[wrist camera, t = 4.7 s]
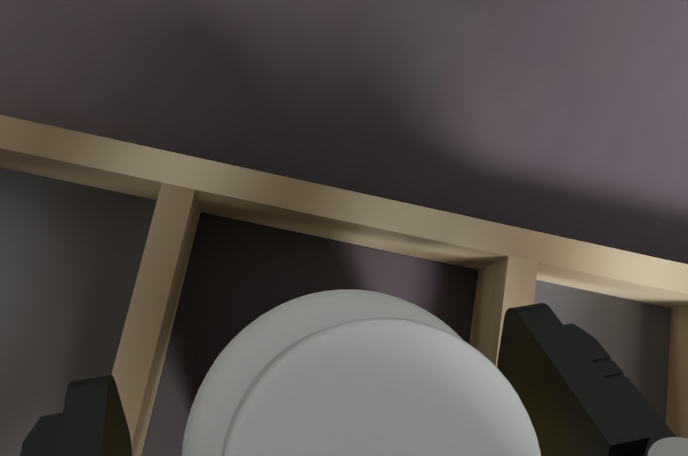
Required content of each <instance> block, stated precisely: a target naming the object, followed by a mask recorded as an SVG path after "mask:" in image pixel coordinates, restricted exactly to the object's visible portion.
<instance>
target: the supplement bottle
mask: <svg viewBox="0 0 688 456" xmlns="http://www.w3.org/2000/svg"><path fill="white" fill-rule="evenodd" d="M182 456H541V452H540V448H539V444H538V440H537V436H536V433H535V430H534V428H533V425H532V423H531V420H530V418H529V415H528V413H527V411H526V409H525V407H524V405H523V404H522V402H521V400H520V398H519V396H518V394H517V393H516V391H515V390H514V388H513V387H512V385H511V384H510V382H509V381H508V380H507V379H506V378H505V376H504V375H503V374H502V373H501V372H500V371H499V369H498V368H497V367H496V366H495V365H494V364H493V363H492V362H491V361H490V360H489V359H488V358H486V357H485V356H484V355H483V354H482V353H481V352H480V351H478V350H477V349H476V348H474V347H473V346H471V345H470V344H468V343H467V342H465V341H464V340H463V339H462V338H461V337H460V336H459V335H458V334H457V333H456V332H455V331H454V330H453V329H452V328H450V327H449V326H448V325H446V324H445V323H444V322H443V321H441V320H440V319H439V318H437V317H436V316H434V315H432V314H431V313H429V312H428V311H426V310H424V309H422V308H420V307H419V306H417V305H415V304H412V303H410V302H407V301H405V300H403V299H400V298H397V297H393V296H390V295H386V294H383V293H379V292H374V291H366V290H355V289H346V290H329V291H322V292H317V293H312V294H308V295H304V296H301V297H298V298H295V299H293V300H290V301H288V302H285V303H283V304H280V305H279V306H277V307H275V308H273V309H271V310H270V311H268V312H266V313H264V314H263V315H261V316H259V317H258V318H257V319H256V320H254V321H253V322H251V323H250V324H249V325H248V326H246V327H245V328H244V329H243V330H242V331H240V332H239V333H238V334H237V335H236V336H235V337H234V338H233V339H232V340H231V341H230V342H229V344H228V345H227V346H226V347H225V348H224V349H223V351H222V352H221V353H220V354H219V356H218V357H217V358H216V360H215V361H214V363H213V364H212V366H211V368H210V369H209V371H208V373H207V375H206V376H205V378H204V380H203V382H202V384H201V386H200V387H199V389H198V392H197V394H196V397H195V399H194V402H193V404H192V407H191V410H190V414H189V417H188V420H187V424H186V429H185V433H184V438H183V446H182Z"/></svg>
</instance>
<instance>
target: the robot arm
mask: <svg viewBox="0 0 688 456" xmlns="http://www.w3.org/2000/svg"><path fill="white" fill-rule="evenodd" d="M497 368H498V369H499V371H500V372H501V373H502V374H503V375H504V376H505V378H506V379H507V380H508V381H509V382H510V384H511V385H512V387H513V388H514V390H515V391H516V393H517V394H518V396H519V398H520V400H521V402H522V404H523V405H524V407H525V409H526V411H527V413H528V415H529V418H530V420H531V423H532V425H533V428H534V430H535V433H536V436H537V440H538V444H539V448H540V452H541V456H688V439H687V438H682V437H676V436H675V435H674V433H673V432H672V431H671V430H670V429H669V428H668V426H667V425H666V424H665V423H664V421H663V420H662V419H661V418H660V417H659V415H658V414H657V413H656V412H655V410H654V409H653V408H652V407H651V405H650V404H649V403H648V402H647V401H646V399H645V398H644V397H643V396H642V394H641V393H640V392H639V391H638V390H637V388H636V387H635V386H634V385H633V383H632V382H631V381H630V380H629V378H628V377H625V376H624V372H623V371H622V370H621V369H620V367H619V366H618V365H617V364H616V363H615V361H612V360H611V356H610V355H609V354H608V353H607V351H606V350H605V349H604V348H603V347H602V345H601V344H600V343H599V342H598V340H597V339H596V338H595V337H593V336H592V335H590V334H589V333H587V332H586V331H584V330H583V329H581V328H579V327H578V326H576V325H575V324H573V323H571V324H565V325H563V324H562V322H561V321H560V320H559V318H558V317H557V316H556V315H555V313H554V312H553V311H552V309H551V308H550V307H549V306H548V305H547V304H545V303H538V304H531V305H525V306H519V307H513V308H509V309H507V311H506V313H505V316H504V322H503V328H502V335H501V341H500V348H499V354H498V361H497ZM20 456H132V445H131V438H130V432H129V428H128V424H127V421H126V417H125V414H124V410H123V407H122V403H121V399H120V396H119V392H118V389H117V385H116V382H115V379H114V377H113V376H112V375H108V376H102V377H96V378H90V379H84V380H78V381H72V382H69V384H68V387H67V391H66V397H65V403H64V409H63V413H57V414H52V415H46V416H41V417H40V418H39V420H38V421H37V422H36V424H35V425H34V427H33V428H32V430H31V431H30V432H29V434H28V435H27V437H26V438H25V440H24V441H23V444H22V448H21V453H20Z"/></svg>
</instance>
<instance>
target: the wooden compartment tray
mask: <svg viewBox="0 0 688 456" xmlns="http://www.w3.org/2000/svg"><path fill="white" fill-rule="evenodd" d="M200 212H203V213H208V214H213V215H218V216H222V217H227V218H232V219H237V220H241V221H246V222H251V223H256V224H261V225H265V226H270V227H275V228H280V229H284V230H289V231H294V232H299V233H304V234H308V235H313V236H318V237H323V238H327V239H332V240H337V241H342V242H347V243H351V244H356V245H361V246H366V247H370V248H375V249H380V250H385V251H390V252H394V253H399V254H404V255H409V256H413V257H418V258H423V259H428V260H433V261H437V262H442V263H447V264H452V265H456V266H461V267H466V268H471V269H475V270H478V278H477V286H476V293H475V301H474V309H473V317H472V325H471V332H470V340H469V344H470V345H471V346H473V347H474V348H476V349H477V350H478V351H480V352H481V353H482V354H483V355H484V356H485V357H486V358H488V359H489V360H490V361H491V362H492V363H493V364H494V365H495V366H496V367H497V361H498V354H499V348H500V341H501V335H502V328H503V322H504V316H505V313H506V311H507V309H509V308H513V307H519V306H525V305H531V304H538V303H545V304H547V305H548V306H549V307H550V308H551V309H552V311H553V312H554V313H555V315H556V316H557V317H558V318H559V320H560V321H561V322H562V324H563V325H565V324H571V323H573V324H575V325H576V326H578V327H579V328H581V329H583V330H584V331H586V332H587V333H589V334H590V335H592V336H593V337H595V338H596V339H597V340H598V342H599V343H600V344H601V345H602V347H603V348H604V349H605V350H606V351H607V353H608V354H609V355H610V356H611V360H612V361H615V363H616V364H617V365H618V366H619V367H620V369H621V370H622V371H623V372H624V376H625V377H628V378H629V380H630V381H631V382H632V383H633V385H634V386H635V387H636V388H637V390H638V391H639V392H640V393H641V394H642V396H643V397H644V398H645V399H646V401H647V402H648V403H649V404H650V405H651V407H652V408H653V409H654V410H655V412H656V413H657V414H658V415H659V417H660V418H661V419H662V420H663V421H664V423H665V424H666V425H667V426H668V428H669V429H670V430H671V431H672V432H673V433H674V435H675V436H676V437H682V438H687V439H688V264H684V263H679V262H675V261H670V260H665V259H661V258H656V257H652V256H647V255H642V254H638V253H633V252H629V251H624V250H620V249H615V248H610V247H606V246H601V245H597V244H592V243H587V242H583V241H578V240H574V239H569V238H564V237H560V236H555V235H551V234H546V233H541V232H537V231H532V230H528V229H523V228H519V227H514V226H509V225H505V224H500V223H496V222H491V221H486V220H482V219H477V218H473V217H468V216H463V215H459V214H454V213H450V212H445V211H440V210H436V209H431V208H427V207H422V206H418V205H413V204H408V203H404V202H399V201H395V200H390V199H385V198H381V197H376V196H372V195H367V194H362V193H358V192H353V191H349V190H344V189H339V188H335V187H330V186H326V185H321V184H317V183H312V182H307V181H303V180H298V179H294V178H289V177H284V176H280V175H275V174H271V173H266V172H261V171H257V170H252V169H248V168H243V167H238V166H234V165H229V164H225V163H220V162H216V161H211V160H206V159H202V158H197V157H193V156H188V155H183V154H179V153H174V152H170V151H165V150H160V149H156V148H151V147H147V146H142V145H137V144H133V143H128V142H124V141H119V140H115V139H110V138H105V137H101V136H96V135H92V134H87V133H82V132H78V131H73V130H69V129H64V128H59V127H55V126H50V125H46V124H41V123H36V122H32V121H27V120H23V119H18V118H14V117H9V116H4V115H0V456H20V453H21V448H22V444H23V441H24V440H25V438H26V437H27V435H28V434H29V432H30V431H31V430H32V428H33V427H34V425H35V424H36V422H37V421H38V420H39V418H40V417H41V416H46V415H52V414H57V413H63V409H64V403H65V397H66V391H67V387H68V384H69V382H72V381H78V380H84V379H90V378H96V377H102V376H108V375H112V376H113V377H114V379H115V382H116V385H117V389H118V392H119V396H120V399H121V403H122V407H123V410H124V414H125V417H126V421H127V424H128V428H129V432H130V438H131V445H132V456H141V455H142V451H143V447H144V443H145V439H146V435H147V430H148V426H149V422H150V418H151V414H152V410H153V406H154V402H155V398H156V393H157V389H158V385H159V381H160V377H161V373H162V369H163V365H164V360H165V356H166V352H167V348H168V344H169V340H170V336H171V332H172V328H173V323H174V319H175V315H176V311H177V307H178V303H179V299H180V295H181V291H182V286H183V282H184V278H185V274H186V270H187V266H188V262H189V258H190V253H191V249H192V245H193V241H194V237H195V233H196V229H197V225H198V221H199V216H200Z"/></svg>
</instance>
